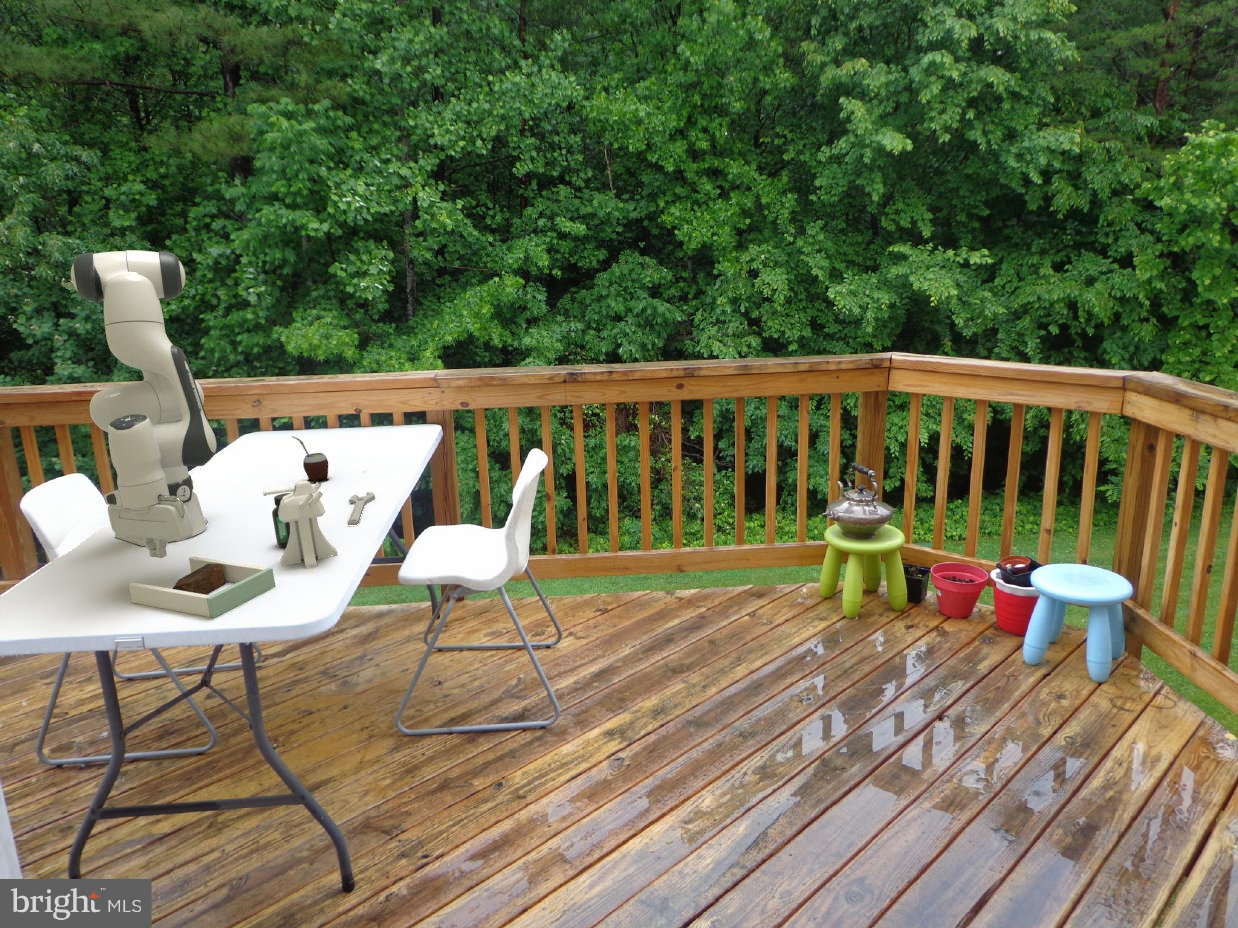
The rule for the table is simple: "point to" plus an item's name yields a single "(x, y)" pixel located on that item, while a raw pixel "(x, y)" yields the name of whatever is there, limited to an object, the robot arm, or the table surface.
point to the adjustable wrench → (359, 506)
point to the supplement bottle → (280, 524)
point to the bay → (246, 588)
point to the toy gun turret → (303, 524)
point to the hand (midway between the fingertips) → (158, 556)
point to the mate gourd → (315, 465)
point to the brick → (202, 580)
